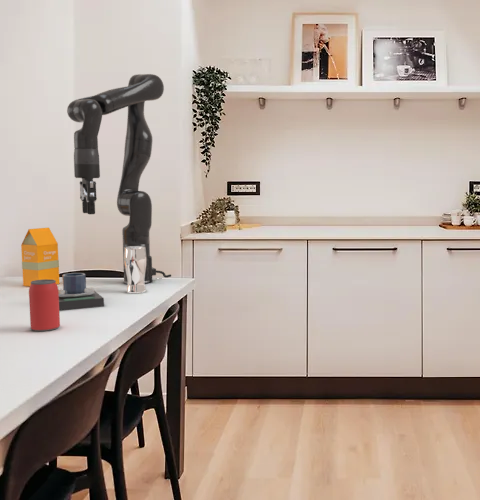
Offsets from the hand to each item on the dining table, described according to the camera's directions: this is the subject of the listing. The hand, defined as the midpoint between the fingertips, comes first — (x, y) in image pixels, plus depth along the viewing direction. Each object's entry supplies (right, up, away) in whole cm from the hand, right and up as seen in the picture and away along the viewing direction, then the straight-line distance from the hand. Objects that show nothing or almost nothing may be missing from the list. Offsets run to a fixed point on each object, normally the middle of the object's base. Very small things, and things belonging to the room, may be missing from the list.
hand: (88, 213), depth 198 cm
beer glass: (+13, -26, +6) cm, 30 cm away
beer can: (+9, -32, -46) cm, 56 cm away
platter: (+2, -25, -15) cm, 29 cm away
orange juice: (-24, -24, +18) cm, 39 cm away
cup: (+2, -24, -15) cm, 28 cm away
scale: (+3, -28, -15) cm, 32 cm away
